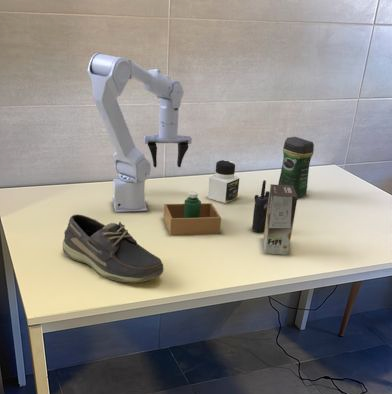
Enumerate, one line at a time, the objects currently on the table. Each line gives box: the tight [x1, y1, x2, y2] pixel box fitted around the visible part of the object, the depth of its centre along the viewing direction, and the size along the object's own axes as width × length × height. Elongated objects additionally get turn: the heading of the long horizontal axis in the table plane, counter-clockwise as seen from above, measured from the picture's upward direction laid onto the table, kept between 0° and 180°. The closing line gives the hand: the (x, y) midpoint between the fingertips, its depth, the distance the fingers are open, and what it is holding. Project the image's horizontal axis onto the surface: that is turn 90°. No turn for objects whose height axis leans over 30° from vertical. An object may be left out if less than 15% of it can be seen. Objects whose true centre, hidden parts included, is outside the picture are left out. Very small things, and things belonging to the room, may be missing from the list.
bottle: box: [183, 191, 202, 218], centre depth 152 cm, size 5×5×9 cm
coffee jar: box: [277, 136, 315, 199], centre depth 179 cm, size 10×8×19 cm
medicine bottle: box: [207, 159, 241, 204], centre depth 173 cm, size 7×7×12 cm
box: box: [163, 202, 222, 236], centre depth 154 cm, size 14×11×5 cm
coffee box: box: [262, 183, 299, 256], centre depth 142 cm, size 9×6×16 cm
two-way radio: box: [251, 179, 270, 233], centre depth 152 cm, size 6×4×15 cm
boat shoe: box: [62, 214, 164, 283], centre depth 128 cm, size 11×29×11 cm, turn 58°
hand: (166, 166), depth 171 cm, fingers open, 7 cm apart
